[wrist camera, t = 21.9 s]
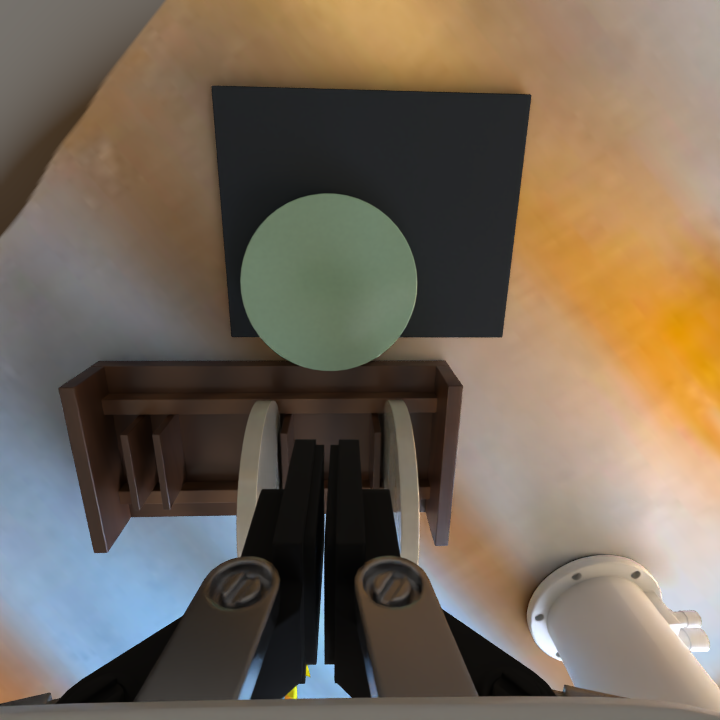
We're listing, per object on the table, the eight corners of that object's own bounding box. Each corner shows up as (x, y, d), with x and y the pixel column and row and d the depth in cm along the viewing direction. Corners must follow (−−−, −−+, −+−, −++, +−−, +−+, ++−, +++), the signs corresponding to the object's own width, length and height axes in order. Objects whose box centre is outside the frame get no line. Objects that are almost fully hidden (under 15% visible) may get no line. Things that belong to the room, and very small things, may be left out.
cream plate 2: (396, 373, 33) (425, 460, 22) (390, 509, 37) (413, 643, 26) (382, 373, 33) (405, 460, 22) (377, 510, 37) (395, 643, 26)
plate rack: (445, 360, 35) (463, 385, 30) (434, 503, 39) (448, 546, 34) (98, 360, 34) (57, 387, 29) (125, 508, 38) (93, 553, 33)
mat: (528, 96, 29) (532, 94, 29) (499, 335, 34) (502, 337, 34) (213, 87, 28) (210, 85, 28) (233, 335, 33) (231, 337, 33)
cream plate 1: (279, 373, 33) (249, 462, 22) (286, 511, 37) (263, 647, 26) (266, 373, 33) (228, 462, 22) (273, 511, 37) (245, 648, 25)
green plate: (337, 151, 28) (202, 278, 30) (452, 295, 31) (323, 403, 33) (337, 153, 29) (206, 276, 31) (449, 293, 32) (323, 399, 34)
